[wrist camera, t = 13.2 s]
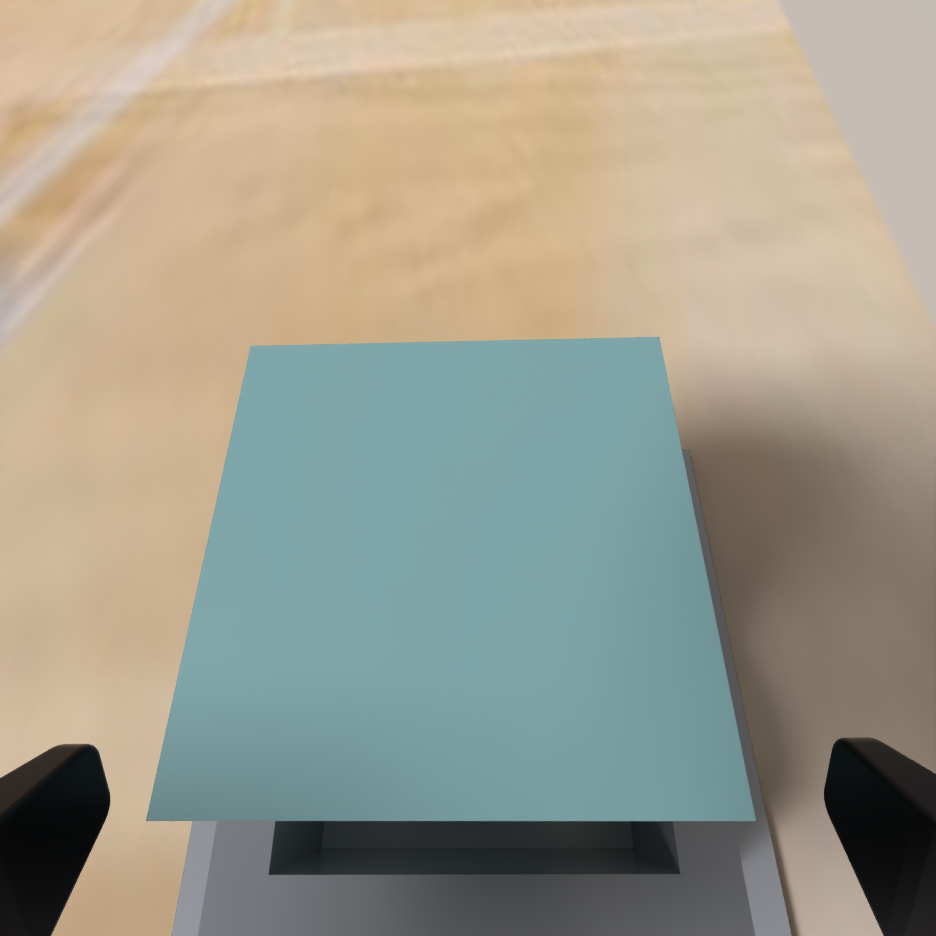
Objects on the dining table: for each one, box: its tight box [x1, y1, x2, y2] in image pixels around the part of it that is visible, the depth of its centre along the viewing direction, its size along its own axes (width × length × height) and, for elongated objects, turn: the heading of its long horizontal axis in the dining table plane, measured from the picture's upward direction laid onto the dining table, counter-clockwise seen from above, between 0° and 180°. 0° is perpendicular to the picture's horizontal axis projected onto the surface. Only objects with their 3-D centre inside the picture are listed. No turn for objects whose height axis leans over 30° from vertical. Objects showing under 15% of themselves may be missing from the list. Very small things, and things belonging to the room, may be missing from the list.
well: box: [171, 450, 792, 936], centre depth 15 cm, size 15×15×4 cm
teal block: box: [146, 337, 756, 821], centre depth 11 cm, size 5×5×12 cm
